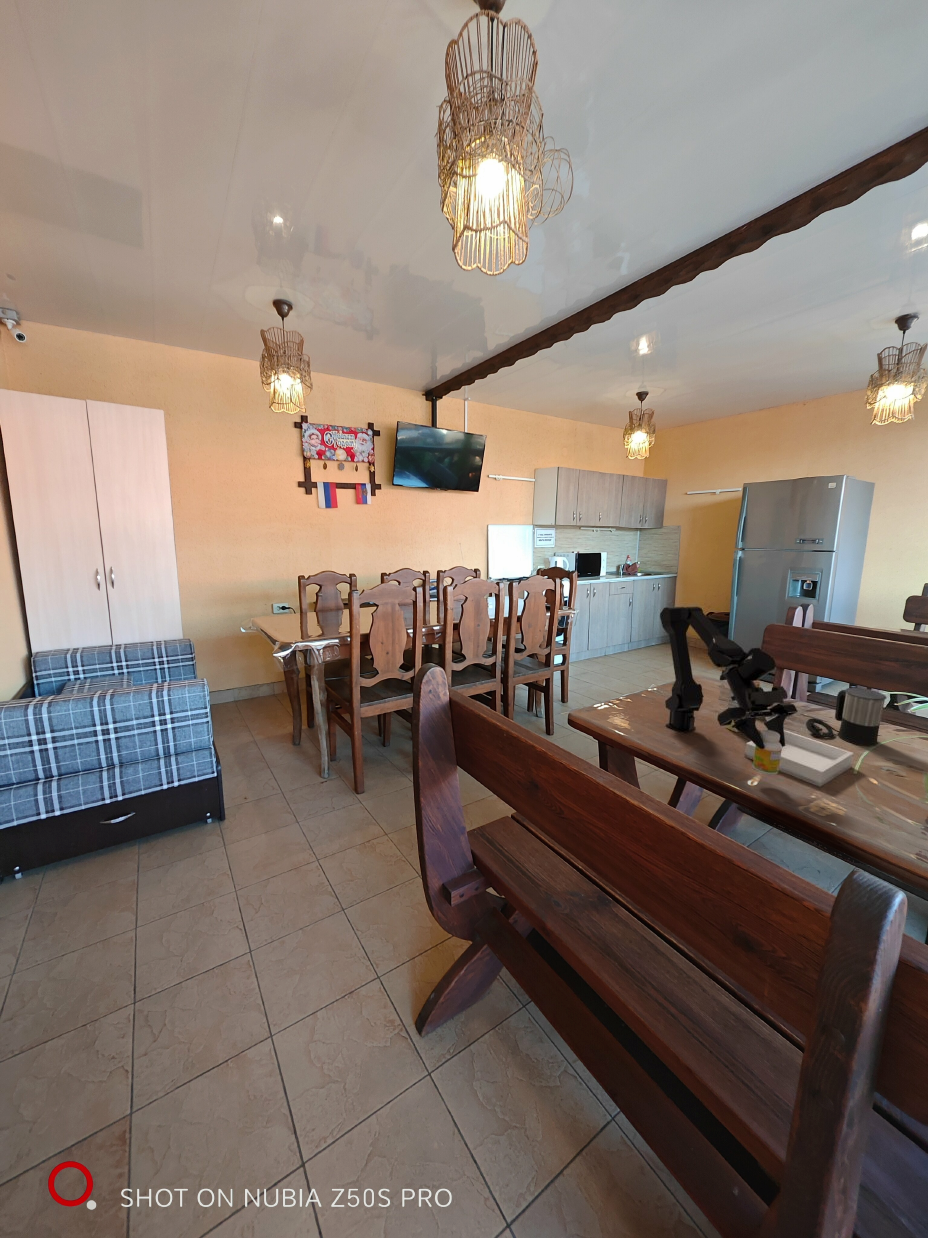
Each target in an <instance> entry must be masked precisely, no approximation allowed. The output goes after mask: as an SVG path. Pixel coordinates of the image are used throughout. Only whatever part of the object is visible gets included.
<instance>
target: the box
mask: <svg viewBox="0 0 928 1238" xmlns="http://www.w3.org/2000/svg"><path fill="white" fill-rule="evenodd" d="M784 737H785V746H784V747H782V751H781V758H780V765H779V771H780V772H782V773H785V774H787V775H789V776H792V777H794V778H797V779H799V780H801V781H804V782H806V783H809V784H812V785H814V786H817V787H820V788H821V787H823V786H824V785H825V784H827V783H828V782H830V781H832V780H833V779H835V778H836V777H838V776H840V775H841V774H843V773H844V772H846V771H847V770H849V769H850V768H852V765H853V759H854V755H855V754H854V752H852V751H849V750H846V749H843V748H840V747H836V746H833V745H830V744H827V743H825V742H821V741H818V740H815V739H813V738H809V737H807V736H804V735H800V734H798V733H795V732H792V731H789V730H786V729H784ZM755 745H756V744H754V743H753V742H752V741H751V740H750V741H749V742H746V743H745V749H744V757H745V758H747V759H750V760H752V761H753V760H754V752H755ZM779 771H778V772H779Z"/></svg>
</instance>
